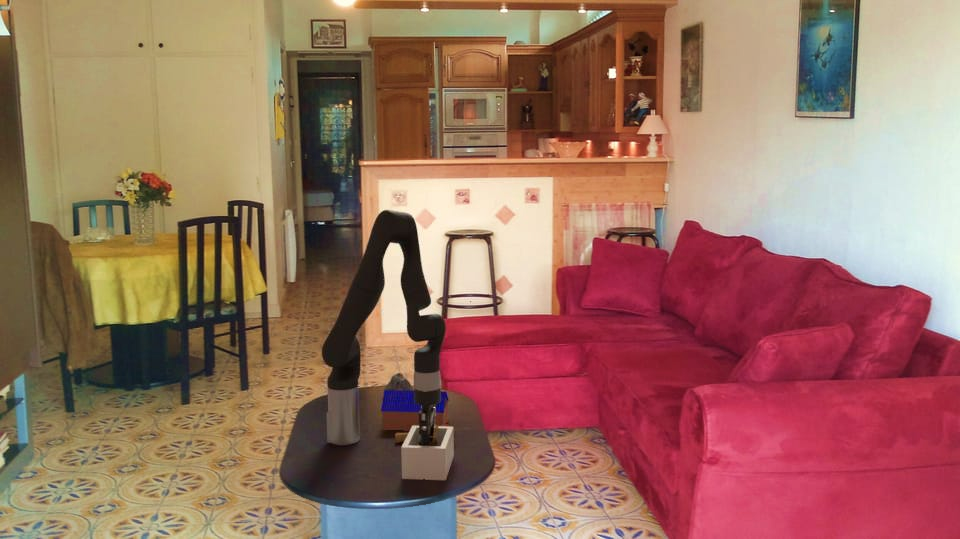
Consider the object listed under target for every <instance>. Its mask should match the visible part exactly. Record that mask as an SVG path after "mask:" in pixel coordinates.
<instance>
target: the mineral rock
mask: <svg viewBox="0 0 960 539" xmlns="http://www.w3.org/2000/svg"><path fill="white" fill-rule="evenodd" d="M384 390H402V391H414V387H413V386H412V384H411V383H410V381H409V380H408V379H407V378H406V377H405V376H404V375H403V374H402V373H400V372H398V373H396V374H394V375H392V376H391V379H390V380H389V381H388V383H387V384H386V385H385V386H384V388H383V394H384Z"/></svg>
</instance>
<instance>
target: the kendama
mask: <svg viewBox="0 0 960 539" xmlns="http://www.w3.org/2000/svg"><path fill="white" fill-rule="evenodd" d="M434 426H436V425H435V424H434ZM440 426H446V427H452V425H449V424H448V423H447V424H443V425H440ZM408 433H409V432H396V433H395V435H394V440H395V444H398V443H404V441H405V439H406V437H407V435H408ZM455 437H456V434H455V432H454V438H455Z"/></svg>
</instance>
